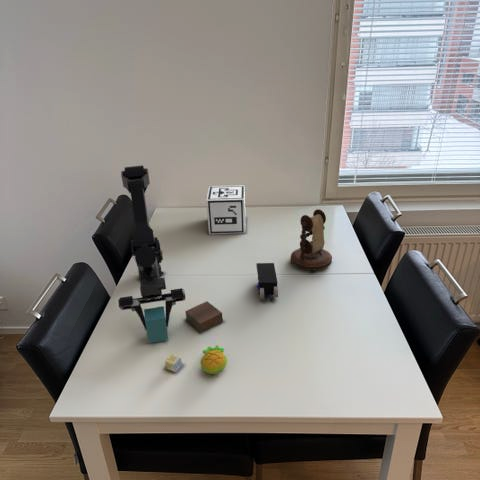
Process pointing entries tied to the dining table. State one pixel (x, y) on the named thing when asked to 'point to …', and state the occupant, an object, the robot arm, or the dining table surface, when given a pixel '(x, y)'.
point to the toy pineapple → (213, 360)
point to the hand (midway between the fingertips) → (156, 328)
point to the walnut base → (204, 316)
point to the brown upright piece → (312, 244)
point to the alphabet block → (173, 363)
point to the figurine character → (267, 280)
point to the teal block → (156, 324)
